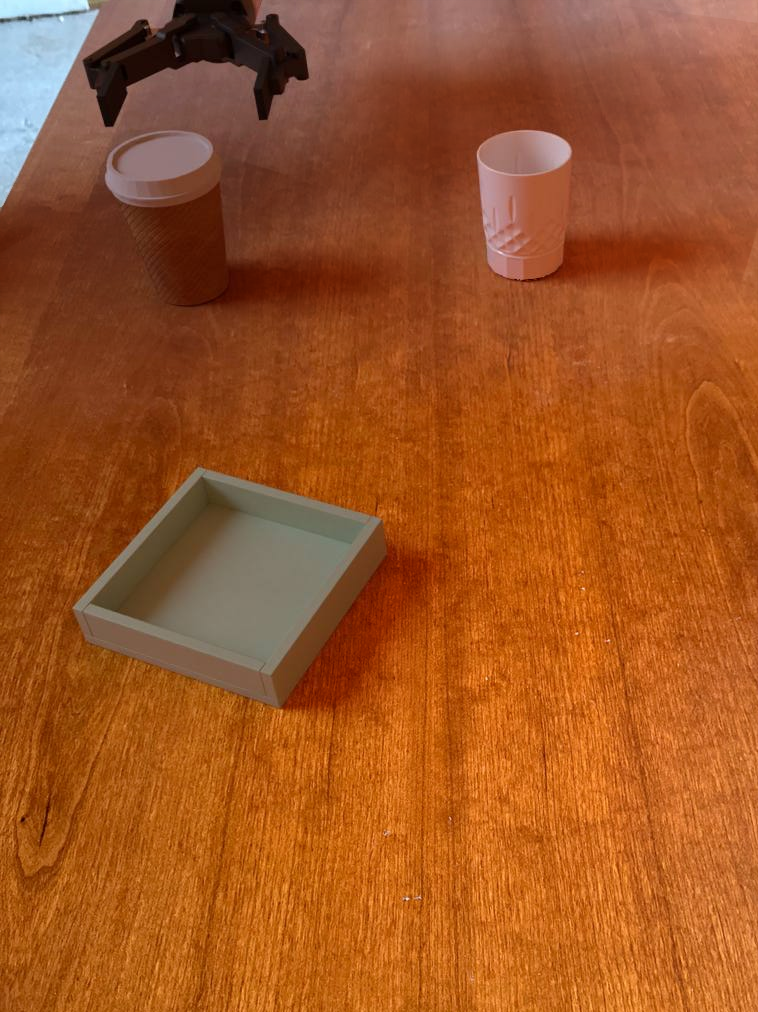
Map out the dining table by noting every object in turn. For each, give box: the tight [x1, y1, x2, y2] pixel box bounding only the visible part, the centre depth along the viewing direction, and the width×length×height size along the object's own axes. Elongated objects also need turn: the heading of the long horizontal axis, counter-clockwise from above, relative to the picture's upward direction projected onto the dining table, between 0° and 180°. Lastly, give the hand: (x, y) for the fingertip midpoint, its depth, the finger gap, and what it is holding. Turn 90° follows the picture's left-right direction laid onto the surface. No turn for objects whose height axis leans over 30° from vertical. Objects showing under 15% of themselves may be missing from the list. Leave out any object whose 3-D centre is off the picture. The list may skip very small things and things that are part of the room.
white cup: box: [476, 129, 573, 281], centre depth 101 cm, size 8×8×10 cm
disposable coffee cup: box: [104, 129, 230, 307], centre depth 100 cm, size 10×10×12 cm
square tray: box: [72, 466, 388, 709], centre depth 78 cm, size 15×15×3 cm
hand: (182, 108), depth 102 cm, fingers open, 13 cm apart
